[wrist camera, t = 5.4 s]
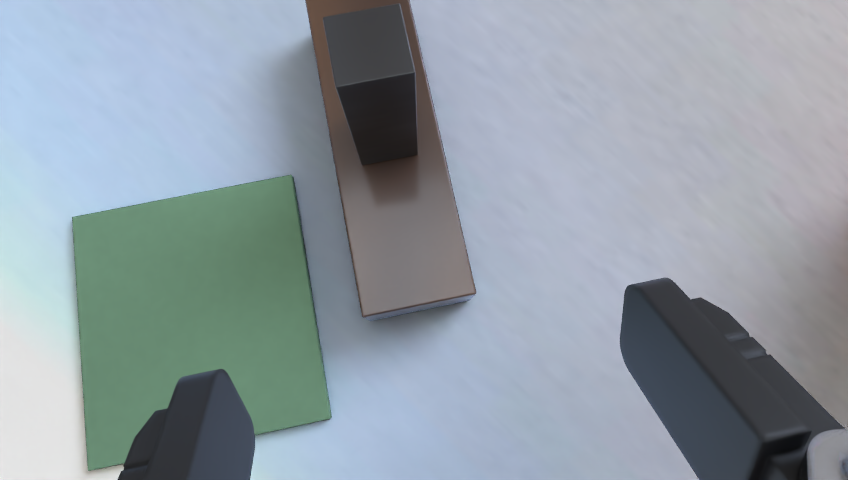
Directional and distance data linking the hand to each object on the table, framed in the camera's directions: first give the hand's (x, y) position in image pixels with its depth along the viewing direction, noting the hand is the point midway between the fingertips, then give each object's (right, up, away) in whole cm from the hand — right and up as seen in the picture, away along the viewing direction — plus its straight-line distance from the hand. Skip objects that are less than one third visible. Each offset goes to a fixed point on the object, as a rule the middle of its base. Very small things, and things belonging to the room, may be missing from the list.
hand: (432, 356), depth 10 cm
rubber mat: (-11, -1, +14) cm, 18 cm away
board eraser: (-2, +7, +16) cm, 17 cm away
